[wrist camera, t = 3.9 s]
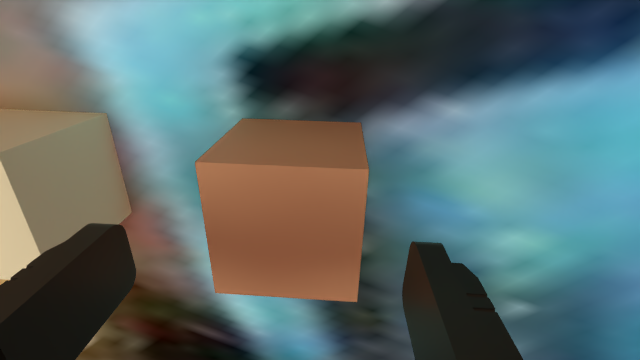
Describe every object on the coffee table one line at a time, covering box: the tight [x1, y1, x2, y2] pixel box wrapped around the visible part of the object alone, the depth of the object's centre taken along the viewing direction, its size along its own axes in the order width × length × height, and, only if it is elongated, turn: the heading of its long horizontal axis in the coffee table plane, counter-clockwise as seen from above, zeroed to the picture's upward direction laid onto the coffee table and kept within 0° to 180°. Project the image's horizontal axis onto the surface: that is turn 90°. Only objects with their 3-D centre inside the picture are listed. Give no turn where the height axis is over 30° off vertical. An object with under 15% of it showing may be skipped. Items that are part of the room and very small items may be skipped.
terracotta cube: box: [195, 119, 369, 302], centre depth 13 cm, size 5×5×5 cm
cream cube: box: [0, 109, 132, 280], centre depth 13 cm, size 5×5×5 cm
